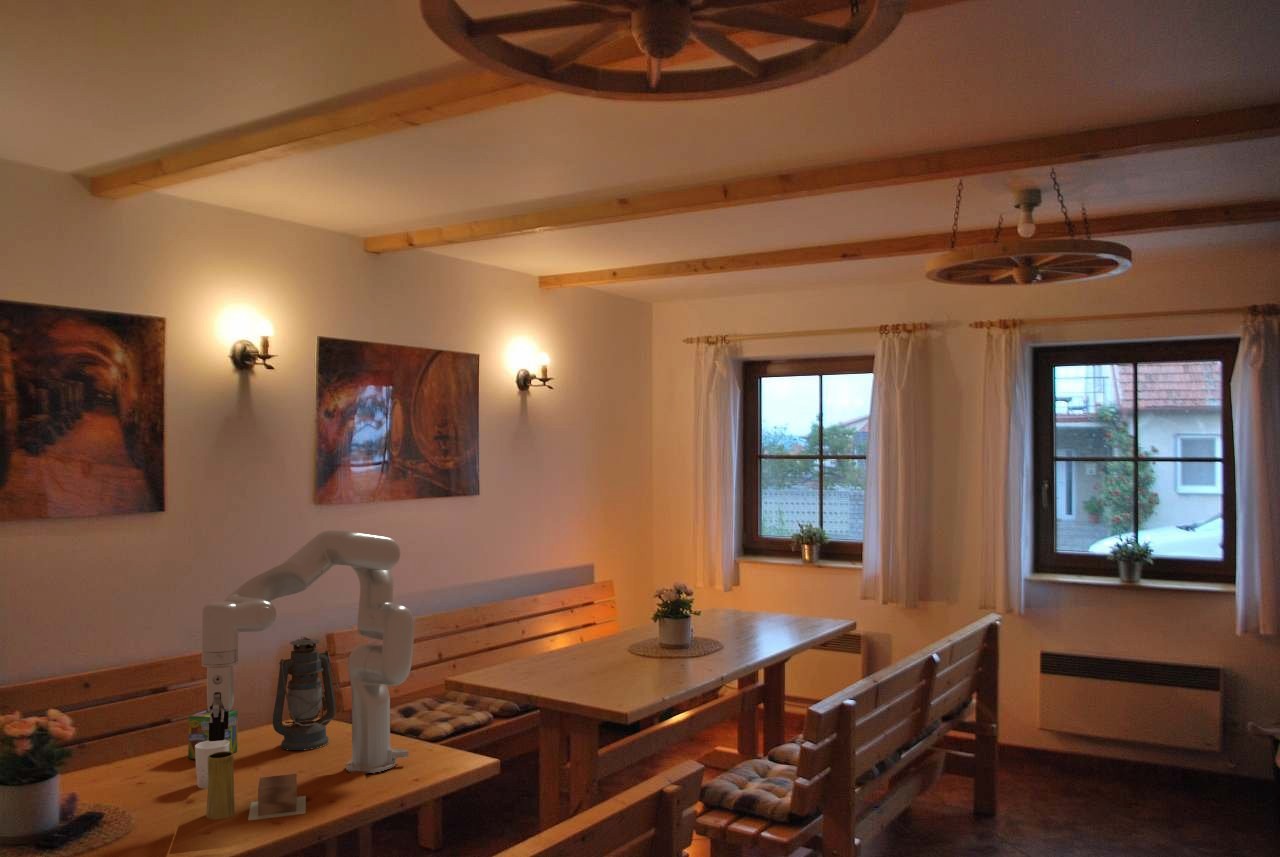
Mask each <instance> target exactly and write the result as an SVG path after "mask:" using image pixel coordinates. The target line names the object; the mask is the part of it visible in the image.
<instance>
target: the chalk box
mask: <svg viewBox="0 0 1280 857" xmlns="http://www.w3.org/2000/svg"><path fill="white" fill-rule="evenodd" d="M238 716H239V711H238V709H231V710H230V711H229V713H228V729H225V739H224V740H228V741H229V742H230V744H229V752H232V753H233V754H235V753H237V752H238V726H239V724H238V723H239V722H238V721H239V720H238V719H239V717H238ZM209 722H210V712H209V711H208V708H207V707H206V709H205V710H202V711H200V712H196V713H194V714H192V715H189V717H188V750H187V752H188V754H187V759H189V760H196V759H195V745H196V744H198V743H200V742H204V741H208V740H209ZM236 751H237V752H236ZM234 752H235V753H234Z"/></svg>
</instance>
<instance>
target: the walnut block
mask: <svg viewBox="0 0 1280 857" xmlns="http://www.w3.org/2000/svg"><path fill="white" fill-rule="evenodd" d="M297 778H298V775H297V773H293V774H292V773H291V774H281V775H273V776H272V775H271V776H264V777H259V781H258V786H257V788H258V789H257V801H258V816H262V815H270V814H278V813H287V812H295V811H296V805H297V797H298V796H297V795H298V794H297V791H298V789H297V786H298V784H297V781H298V780H297Z"/></svg>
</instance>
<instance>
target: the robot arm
mask: <svg viewBox="0 0 1280 857" xmlns="http://www.w3.org/2000/svg"><path fill="white" fill-rule="evenodd" d="M400 559H401V548H400V545H399V544H398V542H397V541H396V540H394V539H393V538H392V537H388V536H384V535H383V536H381V535H374V534H367V533H362V532H357V531H352V530H351V531H350V530H335V529H334V530H333V529H330V530H324V531H321V532H320V533H318V534H317V535H315V536H314V537H313V538H312V539H310V540H309V541H308V542H307V543H305V545H303V546H302V547H301V548H299V549H298V550H297V551H296V552H295V553H293V555H291V556H290V557H289V558H287V560H285V561H284V562H282V563H280V564H278V565H276V566H274V567H271V568H269V569H268V570H266V571H263V572H262V573H260V574H258V575H256V576H253V577H252V578H250V579H248V580H247V581H245V582H244V583H243V584H241V585H239V587H237V589H235V590H234V591H232V593H230V594H229V595H228V596H227V597H226V598H225V599H224V601H213V602H208V603H206V604H205V605H204V606H203V608H202V621H201V624H202V626H201V667H203V668H206V669H207V670H206V701H207V702H206V704H207V705H206V706H207V707H206V709H207V708H208V711H209V712H210V722H209V741H222V740H224V739H225V729H228V713H229V711H230V710H233V706H234V703H235V702H234V701H235V698H234V697H235V696H234V695H235V694H234V693H235V692H234V689H235V688H234V682H235V681H234V678H235V677H234V666H235V665H237V664H238V663H239V633H244V632H245V633H246V632H247V633H250V632H251V633H257V632H263V631H265V630H267V629H269V628H271V626H272V625H273V624H274V623H275V621H276V617H277V610H276V608H275V606H274V605H273V604H272V603H271V602H272V601H273V600H276V599H279V598H282V597H287V596H290V595H294V594H299V593H301V592H303V591H306V590H307V589H309V588H310V587H311V586H312V585H313V584H315V583H316V582H317V581H318V580H319V579H320V578H322V577H323V575H326V573H328V571H330V570H331V569H332V568H333V567H334V566H337V565H338V566H349V567H351V568H352V569H353V571H354V572H355V573H356V576H357V577H358V581H359V600H358V601H359V602H358V612H357V620H356V621H357V626H356V627H357V630H358V633H359V634H360V635H361V636H363V637H364V638H367V639H371V640H377V641H378V640H379V641H382V644H374V643H363V644H360V645H358V646H356V647H355V648H354V649H353V650H352V651H351V653H350V654H349V656H348V660H347V673H348V677H349V681H350V688H351V746H352V747H351V755H352V756H351V759H350V760H349V761H347V762H346V764H345V770H346V771H347V772H348V773H351V774H352V773H360V772H361V773H362V772H364V774H365V775H367V774H366V773H373V774H376V773H375V772H379V773H381V772H380V771H384V770H387V769H389V768H391V767H393V766H394V765H395V764H396V765H397V759H398V758H408V757H409V749H403V748H397V749H394V748H392V745H391V726H390V724H391V720H390V719H391V712H390V711H391V707H390V706H391V705H390V704H391V699H390V692H389V691H390V690H389V688H388V687H389V686H399V685H401V684H402V683H405V681H406V680H407V678H408V676H410V671H411V669H412V662H413V652H414V642H415V641H414V640H415V630H416V629H415V620H414V616H413V614H412V612H411V610H410V609H409V608H408V607H406V606H404V605H402V604H397V603H394V579H393V574H392V573H391V569H393V568H394V567H395V566H396V565H397V563H398V562H399V561H400ZM396 765H395V766H396ZM393 768H394V767H393ZM387 771H388V770H387ZM384 772H385V771H384Z"/></svg>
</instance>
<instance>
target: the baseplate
mask: <svg viewBox="0 0 1280 857" xmlns="http://www.w3.org/2000/svg"><path fill="white" fill-rule="evenodd" d="M306 798H307V796H306V795H302V796H301V795H299V796H297V805H296V811H295V812H287V813H278V814H270V815H262V816H258V800H256V801H251V802H250V805H249V811H248V812H249V813H248V818H247V821H253V820H254V821H255V820H264V819H271V818H279V817H288V816H295V815H303V814H306V812H307V811H306V810H307V808H306V807H307V806H306V804H307V802H306V801H307V799H306Z"/></svg>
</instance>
